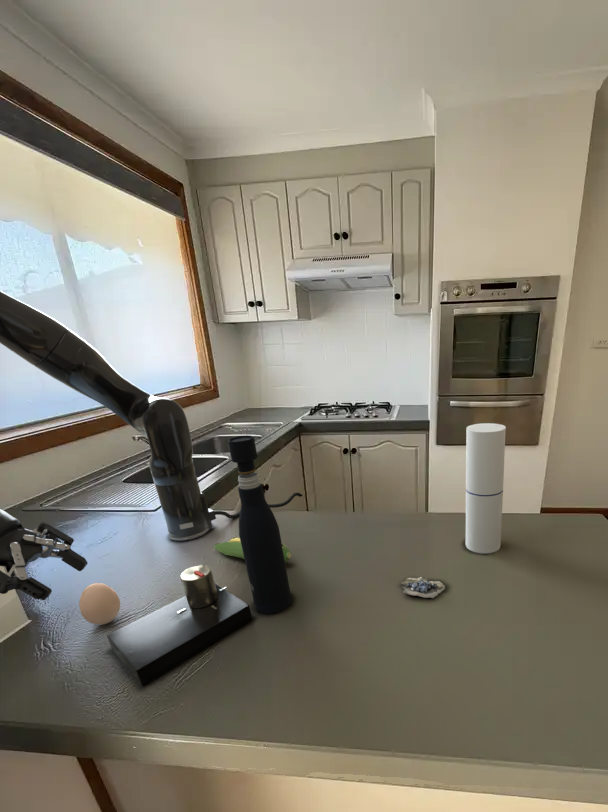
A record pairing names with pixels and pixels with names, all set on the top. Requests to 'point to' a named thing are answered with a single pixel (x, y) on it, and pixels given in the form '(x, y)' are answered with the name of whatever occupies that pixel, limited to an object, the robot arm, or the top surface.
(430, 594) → the blueberries
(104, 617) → the egg
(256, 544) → the dark water bottle
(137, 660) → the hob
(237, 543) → the edible corn
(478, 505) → the cylindrical container
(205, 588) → the stove knob
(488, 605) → the top surface
